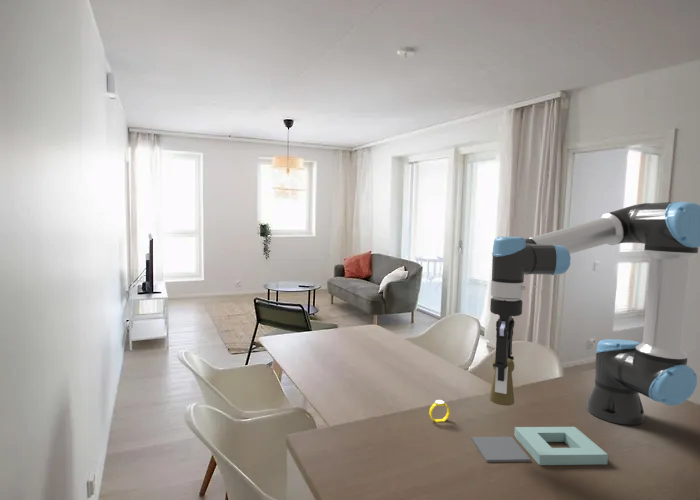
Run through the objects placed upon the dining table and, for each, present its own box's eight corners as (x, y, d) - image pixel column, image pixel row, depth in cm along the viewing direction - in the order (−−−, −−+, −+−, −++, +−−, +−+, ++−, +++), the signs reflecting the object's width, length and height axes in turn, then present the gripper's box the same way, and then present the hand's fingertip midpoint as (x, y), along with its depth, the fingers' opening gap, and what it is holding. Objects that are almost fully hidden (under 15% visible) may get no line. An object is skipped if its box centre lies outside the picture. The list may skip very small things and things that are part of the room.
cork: (518, 400, 110) (520, 358, 109) (508, 407, 105) (510, 363, 104) (495, 393, 114) (497, 353, 113) (485, 400, 109) (487, 358, 109)
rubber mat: (511, 438, 116) (511, 436, 116) (530, 461, 105) (530, 459, 105) (471, 439, 116) (471, 436, 116) (486, 462, 105) (486, 459, 105)
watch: (432, 425, 124) (431, 405, 123) (428, 420, 127) (427, 401, 126) (451, 422, 125) (450, 402, 125) (447, 417, 128) (446, 398, 127)
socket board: (574, 435, 119) (574, 426, 119) (607, 464, 105) (607, 454, 105) (514, 435, 118) (514, 427, 118) (539, 465, 104) (539, 455, 104)
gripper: (518, 305, 98) (513, 404, 100) (525, 294, 114) (521, 379, 116) (484, 302, 101) (480, 398, 103) (496, 291, 117) (492, 374, 119)
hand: (502, 388), depth 109 cm, fingers closed on cork, 5 cm apart
